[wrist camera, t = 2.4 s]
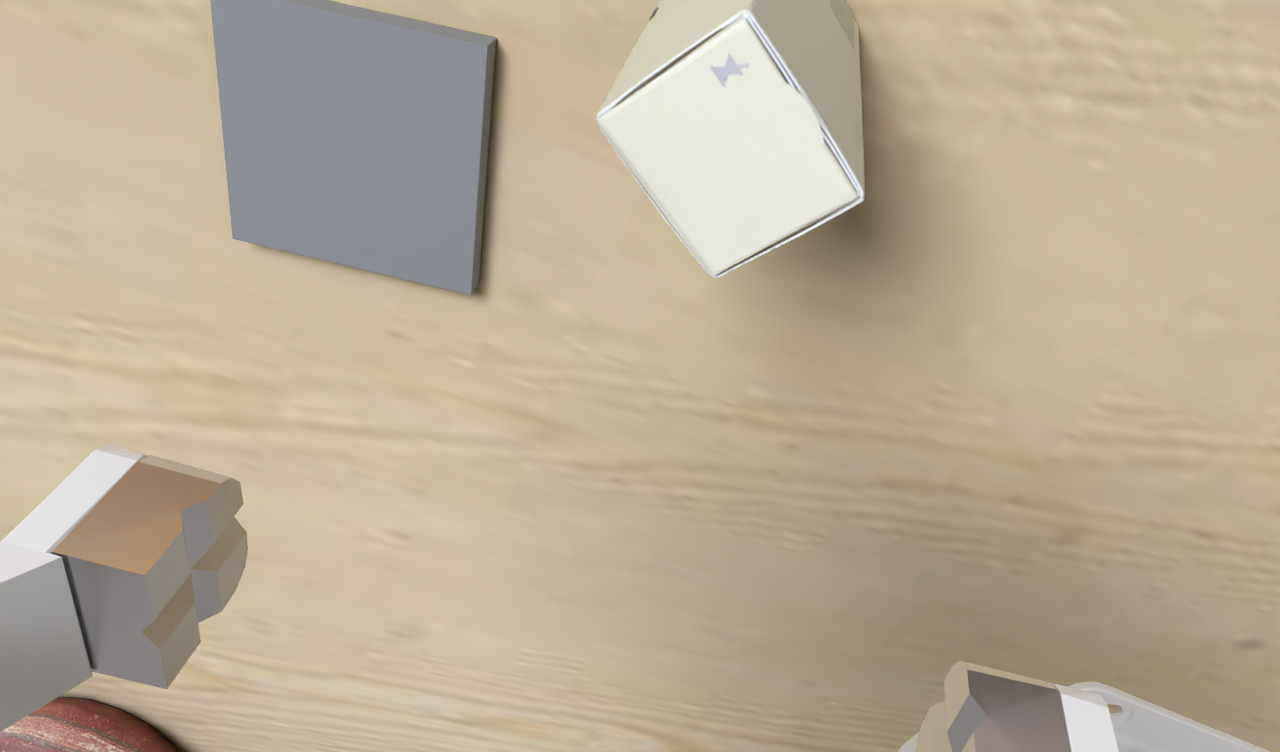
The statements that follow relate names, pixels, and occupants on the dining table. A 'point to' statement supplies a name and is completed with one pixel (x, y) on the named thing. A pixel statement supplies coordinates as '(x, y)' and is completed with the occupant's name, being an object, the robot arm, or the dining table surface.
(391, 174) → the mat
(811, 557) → the dining table surface
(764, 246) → the box
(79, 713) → the pottery
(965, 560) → the dining table surface
